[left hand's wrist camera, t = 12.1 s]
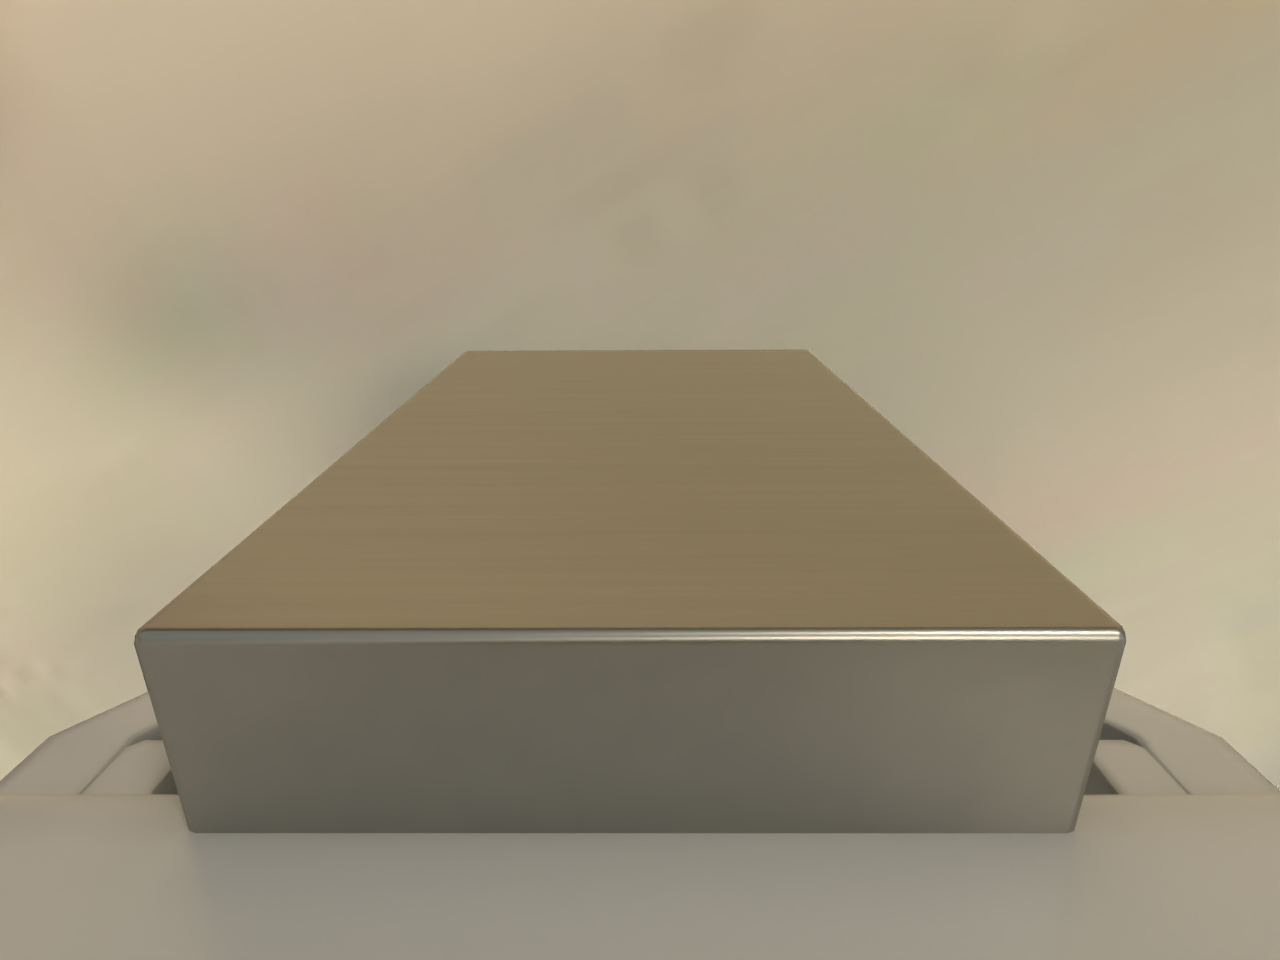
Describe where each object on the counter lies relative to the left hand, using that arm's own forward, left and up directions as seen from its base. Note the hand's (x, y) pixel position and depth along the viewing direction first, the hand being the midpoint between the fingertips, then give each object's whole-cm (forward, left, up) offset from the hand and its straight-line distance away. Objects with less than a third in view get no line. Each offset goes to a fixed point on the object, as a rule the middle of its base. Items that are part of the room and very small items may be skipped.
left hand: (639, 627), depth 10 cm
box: (+9, -1, -3) cm, 10 cm away
